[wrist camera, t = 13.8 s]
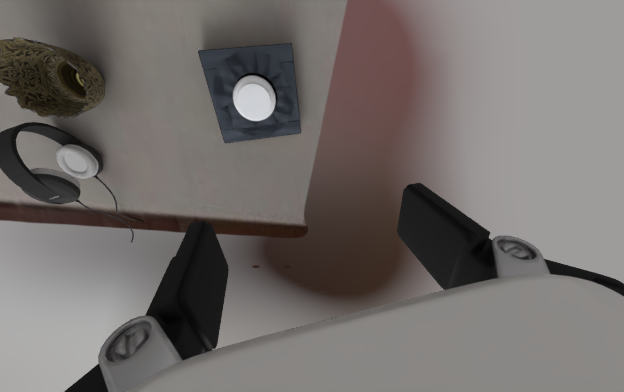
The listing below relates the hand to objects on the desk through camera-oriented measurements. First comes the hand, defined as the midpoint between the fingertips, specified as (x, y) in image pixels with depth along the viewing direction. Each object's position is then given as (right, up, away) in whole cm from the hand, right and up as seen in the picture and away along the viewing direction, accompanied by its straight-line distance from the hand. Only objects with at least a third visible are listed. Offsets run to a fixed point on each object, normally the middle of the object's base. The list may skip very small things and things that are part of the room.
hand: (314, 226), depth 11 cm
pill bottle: (-9, +17, +23) cm, 31 cm away
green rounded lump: (-30, +17, +19) cm, 39 cm away
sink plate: (-9, +17, +23) cm, 30 cm away
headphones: (-33, +4, +25) cm, 42 cm away
